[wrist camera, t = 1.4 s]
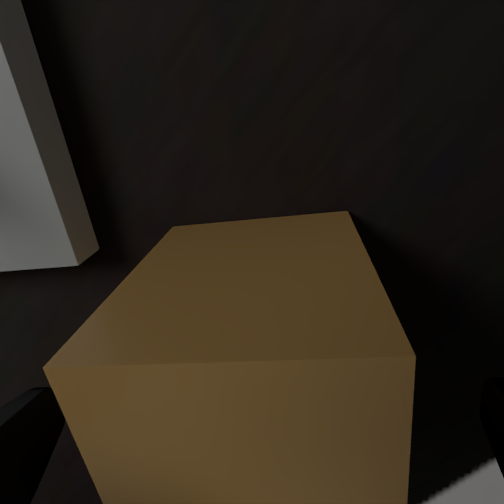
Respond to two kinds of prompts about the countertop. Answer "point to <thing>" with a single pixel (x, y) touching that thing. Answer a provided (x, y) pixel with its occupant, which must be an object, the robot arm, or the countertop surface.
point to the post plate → (35, 162)
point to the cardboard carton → (244, 371)
